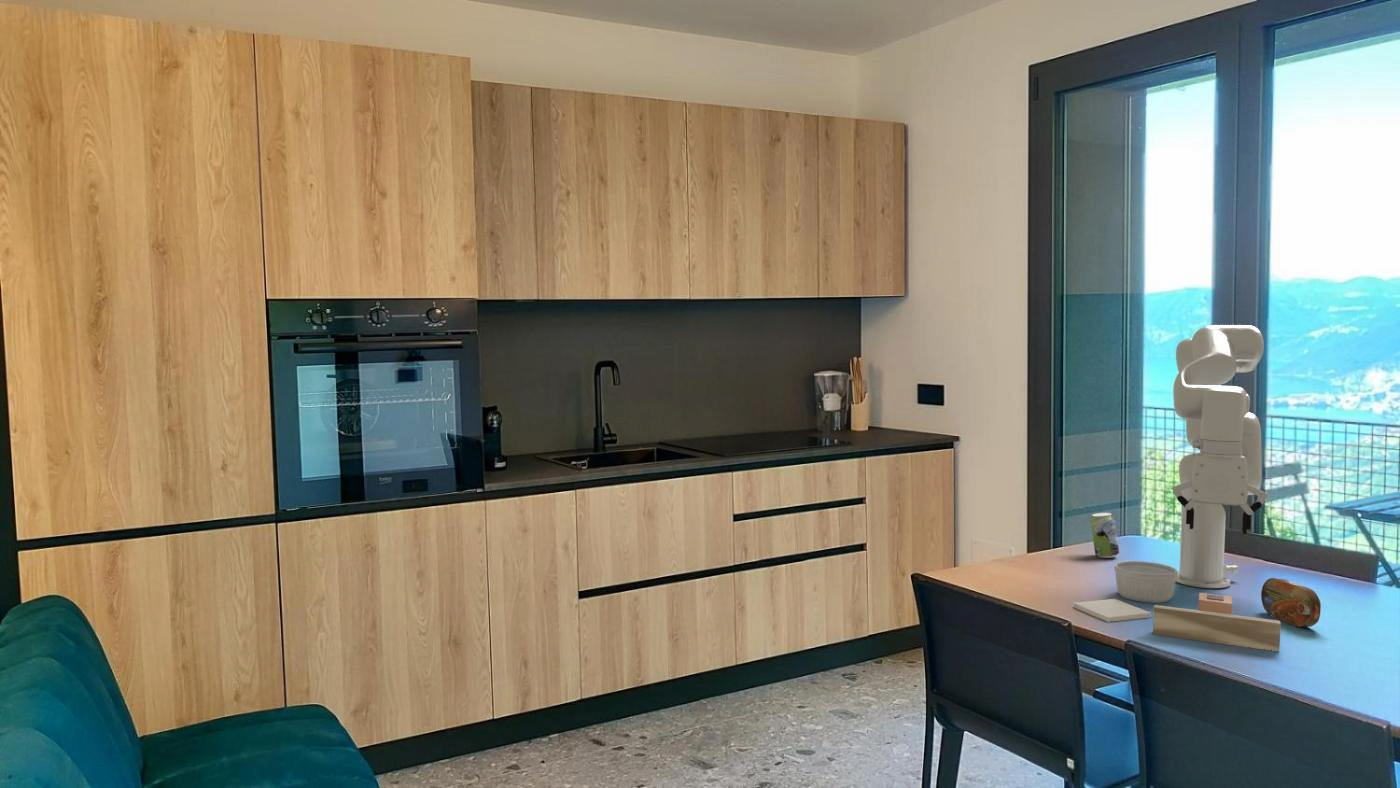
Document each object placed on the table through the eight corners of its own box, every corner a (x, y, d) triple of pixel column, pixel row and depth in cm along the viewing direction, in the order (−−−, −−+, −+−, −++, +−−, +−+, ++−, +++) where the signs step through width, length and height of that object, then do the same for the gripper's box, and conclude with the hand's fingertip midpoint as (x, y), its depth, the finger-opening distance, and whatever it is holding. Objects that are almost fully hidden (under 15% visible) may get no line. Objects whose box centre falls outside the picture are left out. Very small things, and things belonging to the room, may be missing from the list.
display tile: (1114, 603, 214) (1114, 598, 214) (1150, 617, 204) (1150, 612, 203) (1073, 607, 211) (1073, 602, 211) (1107, 621, 200) (1108, 617, 200)
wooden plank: (1153, 631, 194) (1154, 604, 194) (1278, 648, 184) (1279, 620, 183) (1152, 634, 193) (1153, 607, 192) (1279, 651, 182) (1280, 623, 182)
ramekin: (1135, 586, 229) (1136, 557, 228) (1188, 599, 217) (1189, 569, 217) (1101, 594, 221) (1102, 565, 221) (1154, 608, 210) (1155, 577, 210)
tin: (1258, 610, 208) (1260, 573, 208) (1272, 610, 209) (1274, 572, 208) (1308, 632, 193) (1310, 592, 193) (1322, 632, 194) (1324, 592, 193)
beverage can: (1121, 560, 253) (1122, 516, 252) (1092, 559, 254) (1093, 515, 254) (1115, 554, 259) (1117, 511, 258) (1087, 553, 261) (1088, 510, 260)
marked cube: (1198, 620, 202) (1199, 591, 201) (1230, 624, 199) (1231, 595, 199) (1197, 628, 197) (1198, 598, 196) (1230, 632, 194) (1232, 602, 193)
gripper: (1173, 447, 196) (1170, 529, 197) (1270, 453, 188) (1267, 538, 189) (1174, 444, 203) (1171, 523, 204) (1268, 449, 194) (1265, 531, 196)
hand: (1217, 530), depth 196 cm, fingers open, 9 cm apart
